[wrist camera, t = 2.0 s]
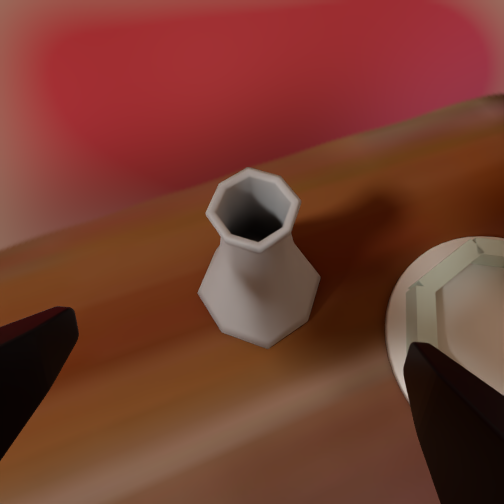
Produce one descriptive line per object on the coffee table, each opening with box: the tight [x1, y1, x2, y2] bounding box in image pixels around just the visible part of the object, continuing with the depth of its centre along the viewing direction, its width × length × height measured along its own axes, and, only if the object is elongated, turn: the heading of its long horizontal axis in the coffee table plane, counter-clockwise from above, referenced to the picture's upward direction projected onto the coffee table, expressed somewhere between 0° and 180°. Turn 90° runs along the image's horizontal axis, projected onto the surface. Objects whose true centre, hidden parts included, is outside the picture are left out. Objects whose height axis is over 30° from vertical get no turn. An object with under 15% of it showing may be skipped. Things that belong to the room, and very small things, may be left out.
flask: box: [198, 167, 321, 349], centre depth 16 cm, size 7×7×10 cm
